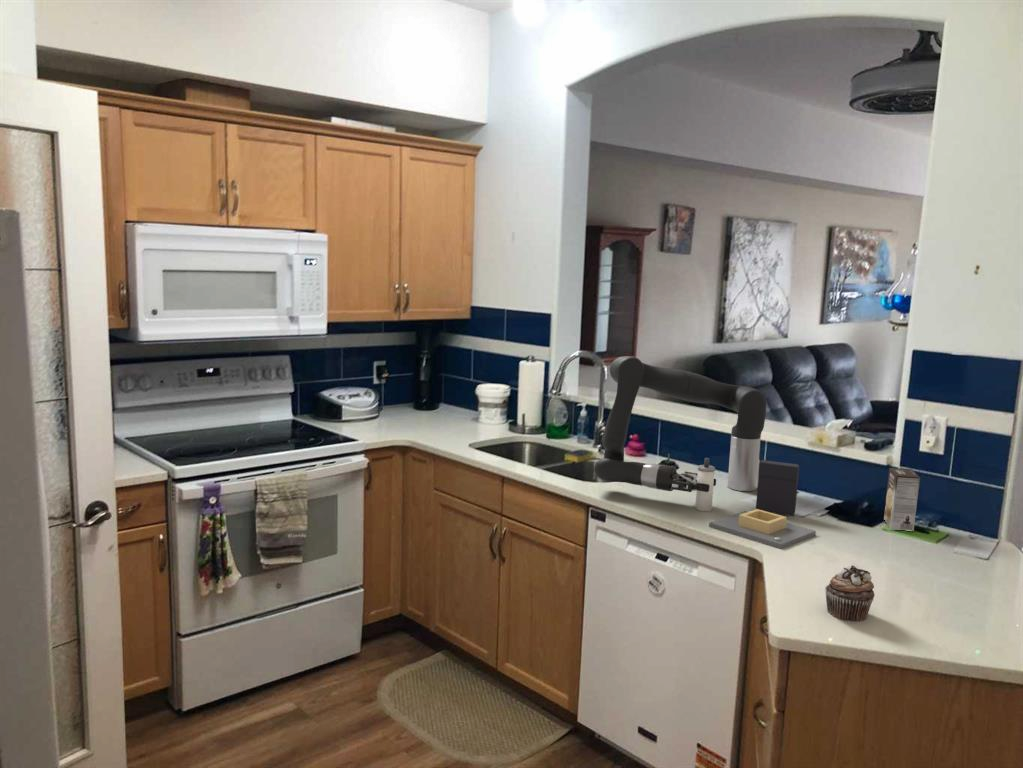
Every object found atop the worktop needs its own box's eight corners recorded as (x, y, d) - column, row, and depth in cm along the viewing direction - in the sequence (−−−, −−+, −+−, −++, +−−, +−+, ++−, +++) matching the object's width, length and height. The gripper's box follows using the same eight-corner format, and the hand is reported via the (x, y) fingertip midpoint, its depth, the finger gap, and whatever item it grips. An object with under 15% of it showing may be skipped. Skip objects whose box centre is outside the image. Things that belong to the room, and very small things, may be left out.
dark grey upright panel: (795, 513, 244) (799, 463, 242) (793, 516, 240) (798, 467, 238) (757, 507, 249) (761, 459, 247) (755, 511, 245) (759, 462, 243)
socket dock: (744, 514, 241) (746, 500, 240) (815, 534, 225) (816, 520, 224) (709, 526, 229) (710, 512, 228) (780, 548, 213) (782, 533, 212)
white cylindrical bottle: (701, 505, 249) (704, 455, 247) (715, 509, 245) (719, 459, 243) (691, 508, 246) (694, 457, 243) (705, 512, 242) (709, 461, 240)
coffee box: (882, 520, 240) (888, 467, 237) (906, 522, 239) (912, 468, 236) (890, 530, 231) (896, 475, 228) (915, 532, 230) (921, 476, 227)
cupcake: (835, 600, 181) (839, 557, 180) (879, 615, 174) (884, 570, 173) (814, 612, 175) (818, 567, 173) (859, 627, 168) (864, 581, 166)
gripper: (652, 469, 244) (707, 478, 237) (666, 460, 257) (719, 468, 249) (650, 494, 245) (705, 503, 238) (665, 483, 258) (717, 492, 250)
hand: (712, 485), depth 244 cm, fingers open, 7 cm apart
